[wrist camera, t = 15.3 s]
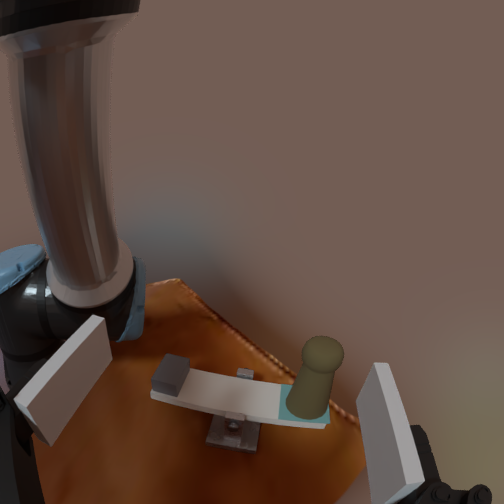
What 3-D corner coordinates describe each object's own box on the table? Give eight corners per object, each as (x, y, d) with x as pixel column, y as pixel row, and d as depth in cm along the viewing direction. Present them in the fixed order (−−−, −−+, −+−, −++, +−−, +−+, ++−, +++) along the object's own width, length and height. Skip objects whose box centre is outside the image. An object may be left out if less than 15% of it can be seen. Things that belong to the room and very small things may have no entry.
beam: (151, 398, 36) (148, 380, 35) (167, 368, 43) (166, 350, 41) (327, 428, 34) (335, 412, 33) (325, 394, 41) (331, 377, 39)
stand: (205, 445, 35) (205, 418, 32) (222, 390, 46) (224, 361, 44) (255, 454, 34) (261, 428, 32) (264, 396, 45) (269, 368, 43)
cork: (276, 400, 37) (290, 338, 34) (306, 383, 41) (323, 324, 37) (306, 426, 33) (329, 366, 29) (335, 406, 37) (359, 346, 33)
